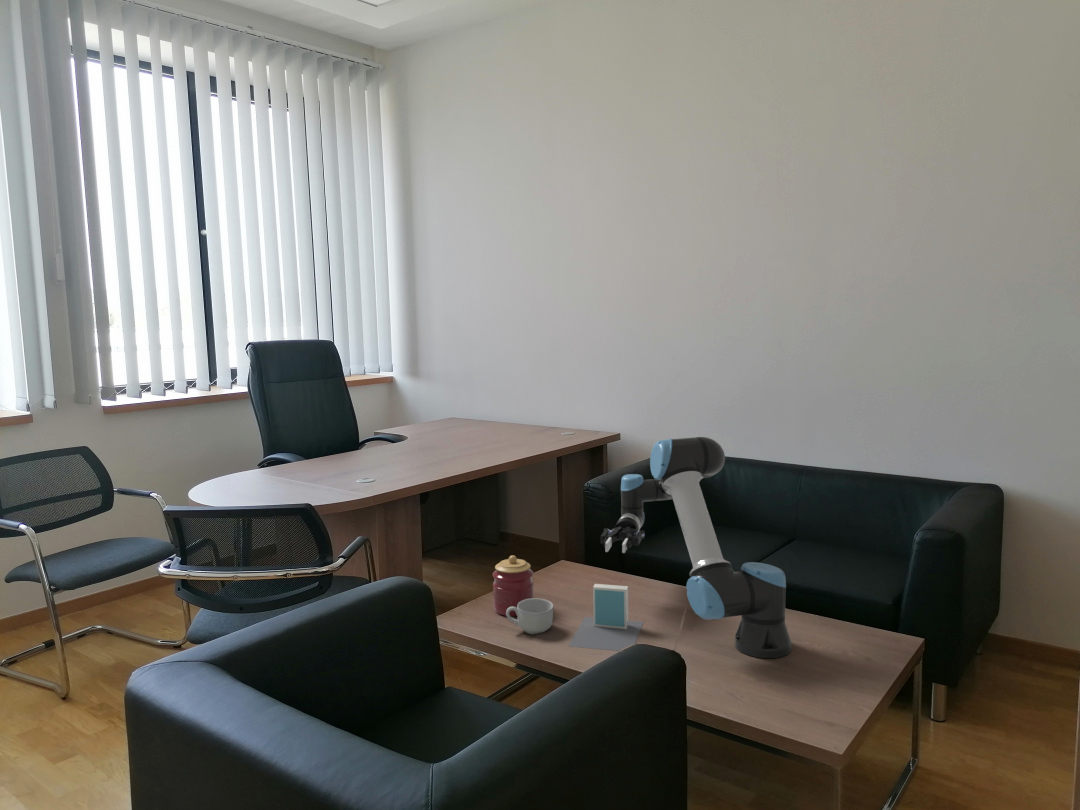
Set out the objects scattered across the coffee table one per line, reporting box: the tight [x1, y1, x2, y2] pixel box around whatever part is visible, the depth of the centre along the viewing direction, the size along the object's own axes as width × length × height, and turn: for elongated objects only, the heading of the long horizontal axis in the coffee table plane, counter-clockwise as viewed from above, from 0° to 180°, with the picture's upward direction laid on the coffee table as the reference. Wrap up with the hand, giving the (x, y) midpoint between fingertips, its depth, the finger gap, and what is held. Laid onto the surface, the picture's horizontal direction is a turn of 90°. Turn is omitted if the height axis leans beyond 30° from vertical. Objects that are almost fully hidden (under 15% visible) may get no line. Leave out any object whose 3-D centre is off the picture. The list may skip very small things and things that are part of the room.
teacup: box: [505, 597, 554, 635], centre depth 234 cm, size 14×11×8 cm
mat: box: [567, 616, 644, 652], centre depth 230 cm, size 22×18×1 cm
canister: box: [492, 555, 534, 617], centre depth 251 cm, size 13×13×18 cm
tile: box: [592, 583, 629, 629], centre depth 235 cm, size 3×10×12 cm, turn 74°
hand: (614, 548), depth 241 cm, fingers open, 4 cm apart
